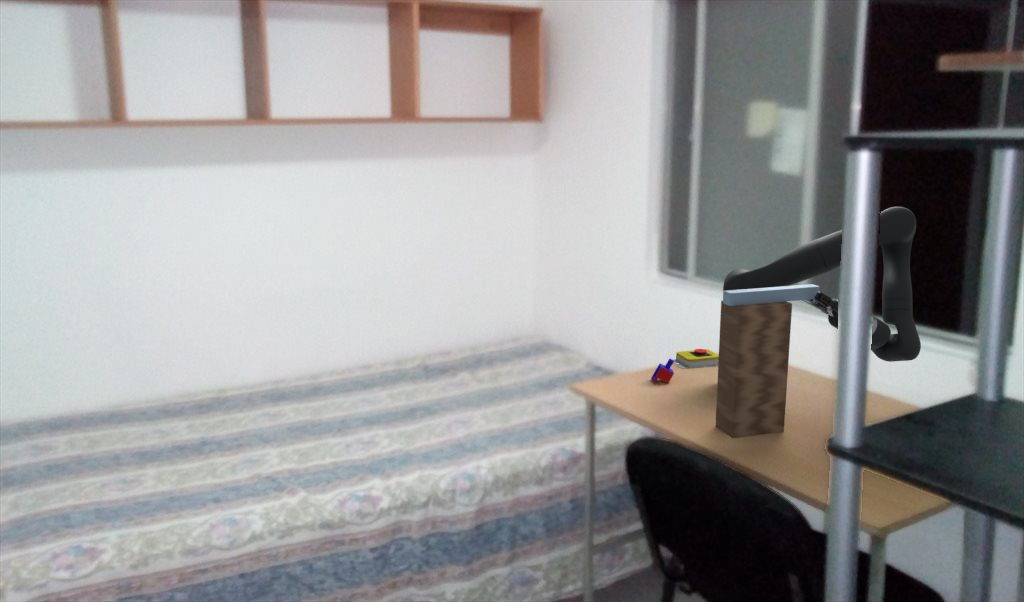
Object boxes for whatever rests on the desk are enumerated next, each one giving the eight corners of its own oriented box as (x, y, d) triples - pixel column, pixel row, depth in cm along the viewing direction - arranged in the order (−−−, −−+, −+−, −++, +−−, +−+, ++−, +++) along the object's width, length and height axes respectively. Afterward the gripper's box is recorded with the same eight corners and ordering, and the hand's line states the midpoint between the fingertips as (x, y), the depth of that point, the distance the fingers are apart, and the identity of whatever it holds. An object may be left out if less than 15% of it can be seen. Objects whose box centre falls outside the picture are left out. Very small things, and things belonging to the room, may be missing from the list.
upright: (765, 420, 203) (772, 296, 196) (783, 431, 195) (792, 303, 188) (715, 426, 199) (721, 300, 192) (732, 438, 192) (738, 307, 185)
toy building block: (665, 388, 233) (678, 365, 231) (652, 382, 232) (666, 358, 231) (663, 384, 236) (677, 361, 234) (650, 378, 236) (664, 354, 234)
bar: (811, 296, 196) (812, 284, 195) (819, 298, 193) (819, 286, 192) (723, 303, 190) (723, 290, 189) (729, 305, 187) (730, 293, 186)
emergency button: (726, 352, 248) (682, 356, 244) (726, 366, 249) (681, 370, 245) (711, 344, 257) (668, 348, 253) (711, 357, 258) (668, 362, 254)
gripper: (841, 300, 205) (795, 272, 200) (880, 313, 192) (832, 283, 186) (826, 326, 206) (780, 299, 200) (864, 340, 192) (816, 312, 187)
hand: (805, 291), depth 193 cm, fingers open, 8 cm apart
